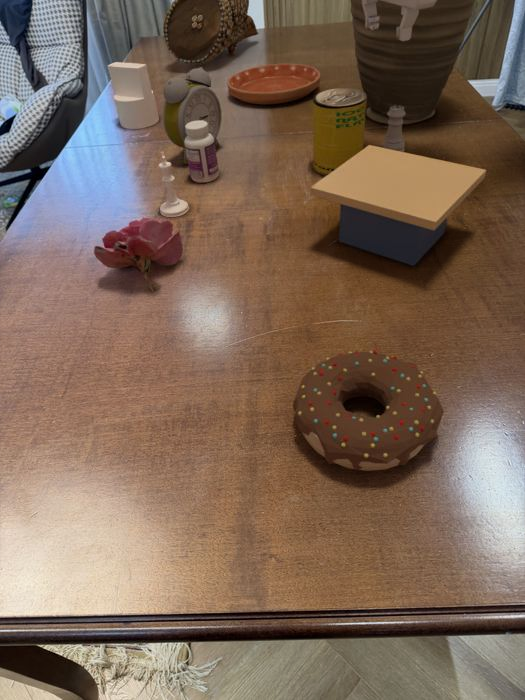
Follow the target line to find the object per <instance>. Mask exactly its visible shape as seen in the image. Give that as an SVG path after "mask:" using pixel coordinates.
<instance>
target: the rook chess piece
mask: <svg viewBox="0 0 525 700" xmlns="http://www.w3.org/2000/svg"><path fill="white" fill-rule="evenodd" d="M396 107H397V106H394V109H393V107H390V111H389V112H388V113H387V114H388V116H389V121H388V124H387V125H388V127H387V132H386V135H385V137H384V140H382V142H381V146H382V147H381V148H386V149H391V150H395V151H400V152H405V151H406V150H405V145H406V143H405V140H404V137H403V125H404V124H403V117H404V116H405V114H406V113H405V111H404V107H402V106H399V108H396ZM401 108H402V109H401Z"/></svg>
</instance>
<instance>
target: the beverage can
mask: <svg viewBox="0 0 525 700" xmlns="http://www.w3.org/2000/svg"><path fill="white" fill-rule="evenodd" d="M366 97H367V95H366V94H365V93H364V91H363V90H361V89H357V88H350V87H349V88H348V87H337V88H330V89H329V88H328V89H325V90H321V91H319V92H317V93H316V94H314V95H313V97H312V167H313V170H314V171H315V172H316V173H318V174H320V175H324V176H327V175H328V174H330V173H331V172H333V171H334V170H335V169H337V168H338V167H340V166H341V165H342V164H344V163H345V162H346V161H348V160H349V159H351V158H352V157H353V156H355V155H356V154H358V153H359V152H360V151H362V150H363V149H364V141H365V125H366V110H367V98H366Z"/></svg>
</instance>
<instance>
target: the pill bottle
mask: <svg viewBox="0 0 525 700" xmlns="http://www.w3.org/2000/svg"><path fill="white" fill-rule="evenodd" d="M185 129H186V134H187V135H188V136H187V137H186V138H185V141H184V144H185V149H186V155H187V160H188V164H187V165H188V169H189V175H190V178H191V180H192V181H194V182H196V183H201V184H203V183H210V182H213V181H215V180H216V179H218V178H219V175H220V171H219V170H220V169H219V161H218V155H217V149H216V148H217V147H216V146H215V142H214V138H213V136H212V135H211V134H210V133H208V132H209V128H208V123H207V122H206V121H201V120H199V121H192V122H189V123H187V124H186V125H185Z"/></svg>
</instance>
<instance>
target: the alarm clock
mask: <svg viewBox="0 0 525 700" xmlns="http://www.w3.org/2000/svg"><path fill="white" fill-rule="evenodd" d="M162 92H163V97H164V99H165V100H164V104H163V107H162V108H163V109H162V123H163V128H164V131H165V134H166V136H167V138H168V139H169V140H170V142H172V143H173V144H174V145H175V146H177V147H179V148H182V151H183V157H184V158H183V159H184V160H183V161H184V164H186V165H188V160H187V155H186V149H185V144H184V141H185V138H186V137H187V136H188V135H187V134H186V129H185V125H186V124H187V123H189V122H192V121H199V120H201V121H206V122H207V123H208V128H209V132H208V133H210V134H211V135H212V136H213V138H214V142H215V148H219V147H220V143H219V140H218V139H217V138H218V136H219V132H220V130H221V127H222V126H221V125H222V105H221V102H220V99H219V98H218V95H217V94H216V92H214V90H213V89H212V79H211V77H210V74H209V73H208V71H206V70H204V68H203V67H202V66H199V67H198V68H192V69H191V70H189V71H188V72H187V75H186V76H185V79H184V78H181V77H175V76H174V77H171V78H169V79H168V80H167V81H166V82H165V84H164V86H163V91H162Z"/></svg>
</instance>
